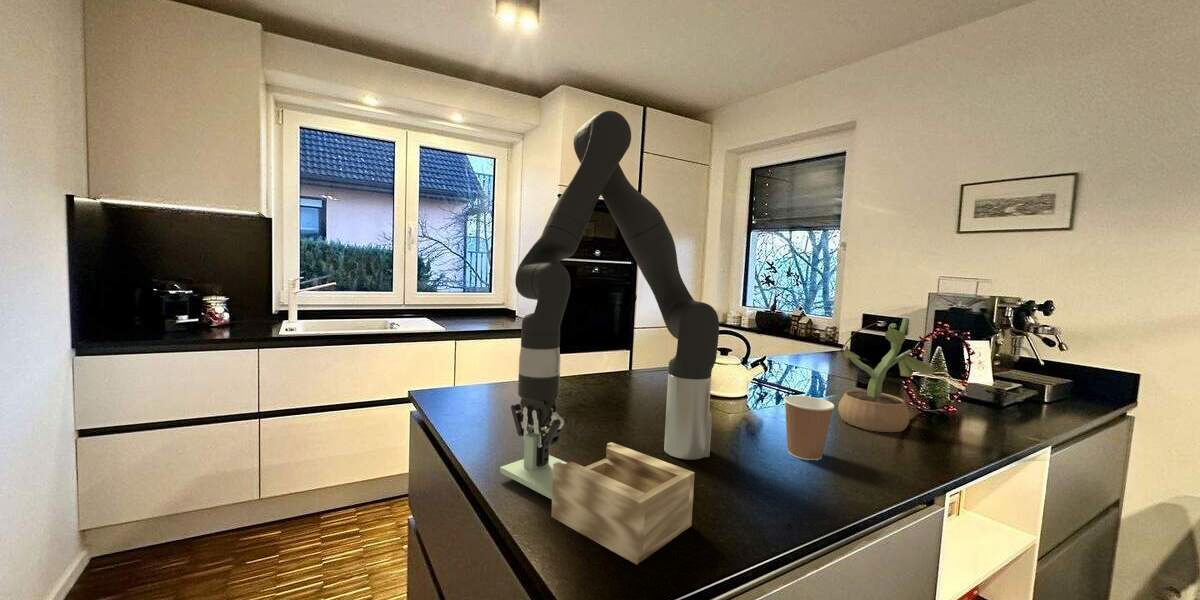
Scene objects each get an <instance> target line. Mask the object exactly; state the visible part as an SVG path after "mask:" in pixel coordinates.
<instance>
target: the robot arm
mask: <svg viewBox="0 0 1200 600" xmlns="http://www.w3.org/2000/svg"><path fill="white" fill-rule="evenodd" d="M631 142H632V129H631V126H630V124H629V122H628V121H627V119H626V118H625V117H624V115H623V114H621V113H619V112H617V111H614V110H603V111H601V112H599V113H597V114H595V115H594V116H592V118H590V119H589V120H587V122H585V123H584V124H582V125H581V126H580V128H579V129H577V131H576V132H575V133H574V136H573V149H574V152H575V155H576V157H577V160H578V161H579V163H580V164H579V166H578V168H577V170H576V172H575V174H574V176H573V177H572V178H571V180H570V182H569V183H568V185H567V186H566V187H565V188H564V190H563V192H562V193H561V195H560V196H559V198H558V200H557V201H556V203H555V205H554V207H553V209H552V210H551V213H550V215H549V217H548V220H547V221H546V224H545V226H544V229H543V231H542V233H541V235H540V237H539V238H538V240H536V242H535V243H534V244H533V245H532V247H531V248H530V249H529V251H528V252H527V253H526V255H525V256H524V257H523V259H522V260H521V261H520V263H519V265H518V267H517V270H516V273H515V278H514V279H515V281H514V283H515V288H516V290H517V292H518V294H519V295H520V296H522V297H523V298H525V299H528V300H533V301H534V300H536V305H535V308H534V311H533V313H528V314H526V315H524V317H523V318H522V321H521V330H520V331H521V332H520V352H519V356H518V357H519V358H518V376H517V377H518V381H517V382H518V384H517V385H518V386H517V395H518V397H519V398H521V399H520V402H519V403H515V404H512V405H511V406H510V409H511V414H512V417H513V421H514V426H515V429H516V433H517V435H518V436H519V437H522V438H523V441H524V442H525V435H526V434H530V433H533V432H534V433H535V434H536V435H537V446H538V447H537V458H536V465H537V466H538V467H542V466H544V465H546V464H547V463H548V460H549V455H550V447H551V446H554V445H556V444H558V443H559V441H560V439H561V437H562V435H563V432H564V429H565V428H566V426H567V424H568V418H567V417H566V416H563V417H561V415H559V414H558V408H557V407H558V406H557V403H556V400H557V398H558V397H559V395H560V385H561V382H560V379H561V353H560V351H561V349H560V344H561V324H562V321H563V317H564V314H565V311H566V308H567V304H568V302H569V297H570V294H571V288H572V287H571V285H572V283H571V278H570V277H571V276H570V273H569V270H568V269H567V268H566V267H565V266H564V265H563V264H561V263H560V262H561V261H563V260H565V259H568V258H570V257H573V255H575V253H576V252H577V249H578V247H579V245H580V242H581V241H582V238H583V236H584V233H585V231H586V228H587V226H588V223H589V222H590V219H591V216H592V214H593V211H594V209H595V207H596V205H597V203H598V201H599V199H600V197H602V200H603V201H604V203H605V205H606V207H607V209H608V211H609V213H610V214H611V216H612V219H613V220H614V222H615V223H616V226H617V227H618V229H619V232H620V233H621V236H622V238H623V240H624V242H625V244H626V246H627V248H628V250H629V252H630V253H631V256H632V258H634V261H635V262H636V264H637V266H638V268H639V270H640V272H641V274H642V276H643V278H644V280H645V281H646V283H647V285H648V286H649V288H650V290H651V292H652V294H653V296H654V298H655V300H656V303H657V306H658V308H659V311H660V313H661V316H662V319H663V321H664V325H665V327H666V329H667V330H668V332H669V334H671V336H672V337H673V338H675V339H676V340H677V344H676V345H677V346H676V352H675V356H674V357H673V358H671V359H670V360H669V361H668V367H667V368H668V371H667V372H668V373H667V374H668V375H667V386H666V387H667V390H666V409H665V422H664V423H665V427H664V440H663V442H664V445H663V446H664V447H663V449H664V452H665V453H666V454H668V456H671V457H674V458H677V459H682V460H701V459H703V458H709V457H710V455H711V454H710V452H711V439H712V438H711V437H712V419H713V414H712V412H711V411H710V405H711V403H710V402H711V400H710V399H711V388H712V386H711V385H712V384H711V383H712V374H713V373H712V372H713V368H714V366H715V364H716V361H717V357H718V356H717V354H718V347H719V345H718V344H719V335H720V320H719V316H718V313H717V311H716V309H715V308H714V307H713V306H712V305H710V304H709V303H706V302H702V301H697V300H695V299H694V298H693V297H692V295H691V293H690V292H689V290H688V288H687V286H686V284H685V282H684V281H683V279H682V276H681V274H680V271H679V270H680V269H679V264H678V256H677V255H678V254H677V249H676V244H675V240H674V238H673V235H672V233H671V231H670V229H669V226H668V225H667V222H666V221H665V219H664V217H663V214H662V213H661V212H660V211H659V209H658V207H656V205H654V203H652V202H651V201H650V200H649V199H648V198H647V197H646V196H645V195H643V194H642V193H641V192H640V191H638V189H636V188H635V187H634V186H633V185H632V184H631V183H630V181H629V179H628V178H627V176H626V175H625V173H624V171H623V169H622V167H621V166H620V162H621V160H623V158H624V156H625V154H626V152H627V151H628V150H629V148H630V145H631ZM543 434H545V439H543Z"/></svg>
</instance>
